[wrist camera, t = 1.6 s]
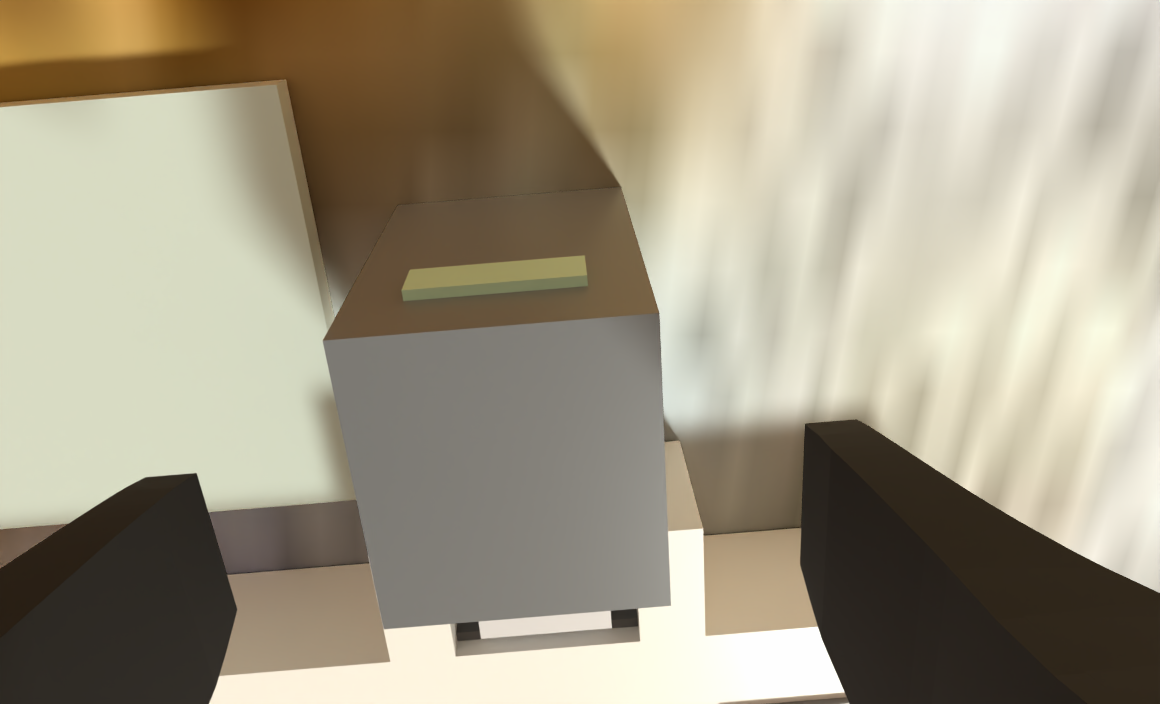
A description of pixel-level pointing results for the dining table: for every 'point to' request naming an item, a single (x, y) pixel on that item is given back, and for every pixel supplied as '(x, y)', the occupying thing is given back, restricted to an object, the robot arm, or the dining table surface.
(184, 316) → the coaster
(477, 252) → the block
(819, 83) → the dining table surface
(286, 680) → the power strip
